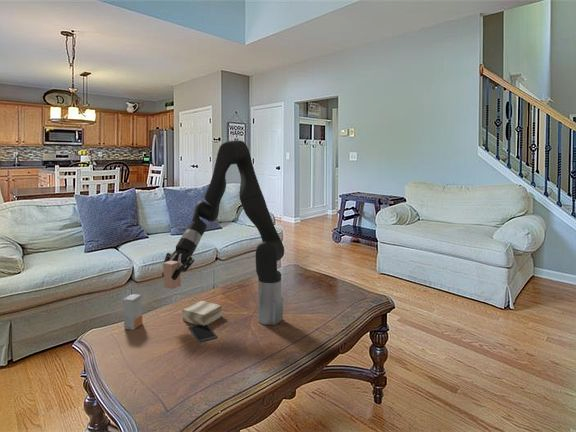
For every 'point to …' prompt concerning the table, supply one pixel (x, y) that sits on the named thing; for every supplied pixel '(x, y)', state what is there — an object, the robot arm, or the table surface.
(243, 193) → the robot arm
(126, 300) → the skincare box
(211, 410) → the table surface
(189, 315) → the birch riser
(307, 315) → the table surface
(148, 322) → the table surface
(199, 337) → the cell phone
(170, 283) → the terracotta block
